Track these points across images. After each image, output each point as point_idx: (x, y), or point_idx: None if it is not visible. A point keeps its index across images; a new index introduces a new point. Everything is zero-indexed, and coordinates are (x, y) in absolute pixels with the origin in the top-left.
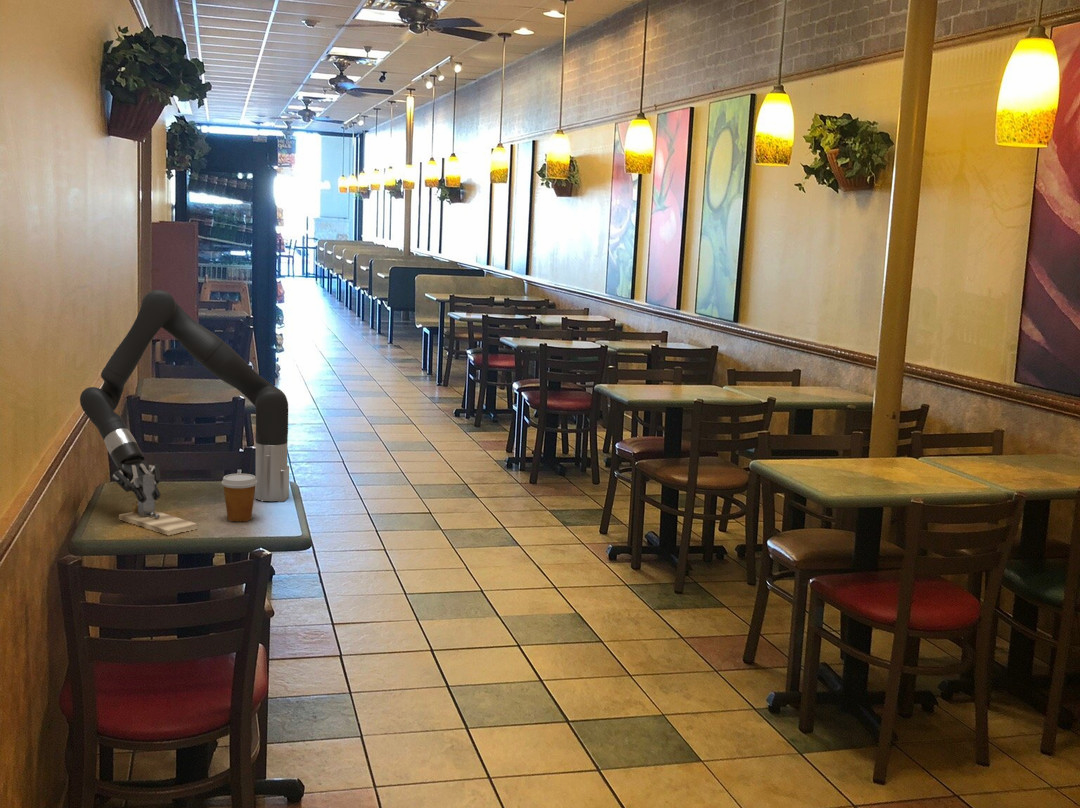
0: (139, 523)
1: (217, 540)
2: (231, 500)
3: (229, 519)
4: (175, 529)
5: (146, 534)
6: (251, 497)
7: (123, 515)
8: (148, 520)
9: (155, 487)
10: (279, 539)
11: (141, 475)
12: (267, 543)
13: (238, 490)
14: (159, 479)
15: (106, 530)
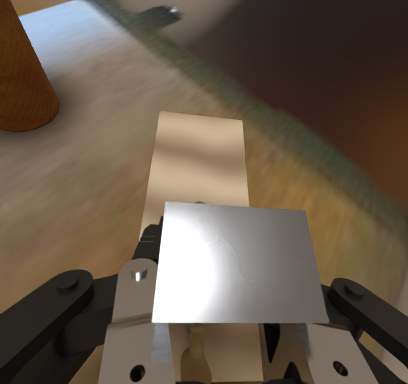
0: None
1: (189, 61)
2: (27, 42)
3: (54, 111)
4: (223, 118)
5: (265, 172)
6: None
7: (255, 350)
8: None
9: (155, 244)
10: (120, 9)
11: (285, 296)
12: (149, 13)
13: None
14: (61, 279)
15: (332, 278)
